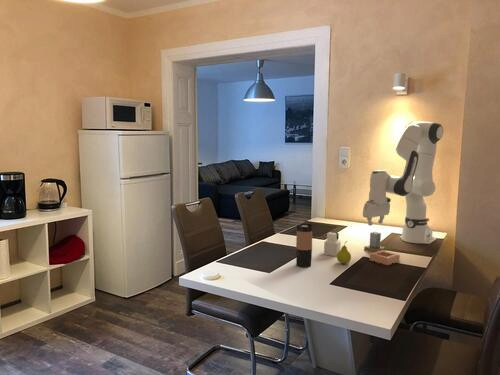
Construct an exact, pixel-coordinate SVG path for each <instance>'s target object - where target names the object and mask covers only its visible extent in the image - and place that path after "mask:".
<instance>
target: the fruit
mask: <svg viewBox="0 0 500 375" xmlns="http://www.w3.org/2000/svg"><path fill="white" fill-rule="evenodd" d="M346 243H347V240H346V241H345V242H344V245H342V246H341V247H340V251H339V252H338V253H337V256H336V260H337V261H338V262H339V263H340V264H342V265H346V264H348V263H350V261H351V260H352V255H351V253H350V252H349V251H348V247H347V246H346V245H345V244H346Z"/></svg>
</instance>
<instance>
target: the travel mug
mask: <svg viewBox="0 0 500 375" xmlns="http://www.w3.org/2000/svg"><path fill="white" fill-rule="evenodd" d="M295 241H296V242H295V243H296V244H295V246H296V247H295V256H296V258H295V259H296V260H295V262H296V267H299V268H310V267H311V266H312V255H313V254H312V253H313V225H312V224H309V223H301V224H297V225H296V240H295Z"/></svg>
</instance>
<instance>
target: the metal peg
mask: <svg viewBox="0 0 500 375" xmlns="http://www.w3.org/2000/svg"><path fill="white" fill-rule="evenodd" d="M381 235H382V234H381V232H377V231H373V232H370V234H369V245H370V247H372V248H379V247H380V246H381Z"/></svg>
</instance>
